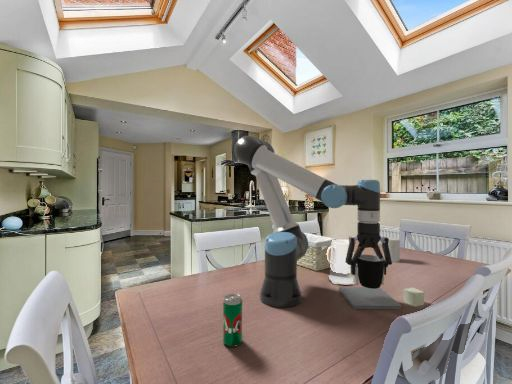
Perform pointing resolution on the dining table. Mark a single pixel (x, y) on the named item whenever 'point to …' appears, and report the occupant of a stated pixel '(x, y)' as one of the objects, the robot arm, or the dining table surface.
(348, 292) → the slate trivet
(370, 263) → the mug
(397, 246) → the cup
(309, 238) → the storage basket
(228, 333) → the soda can
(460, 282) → the dining table surface
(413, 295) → the sage block
